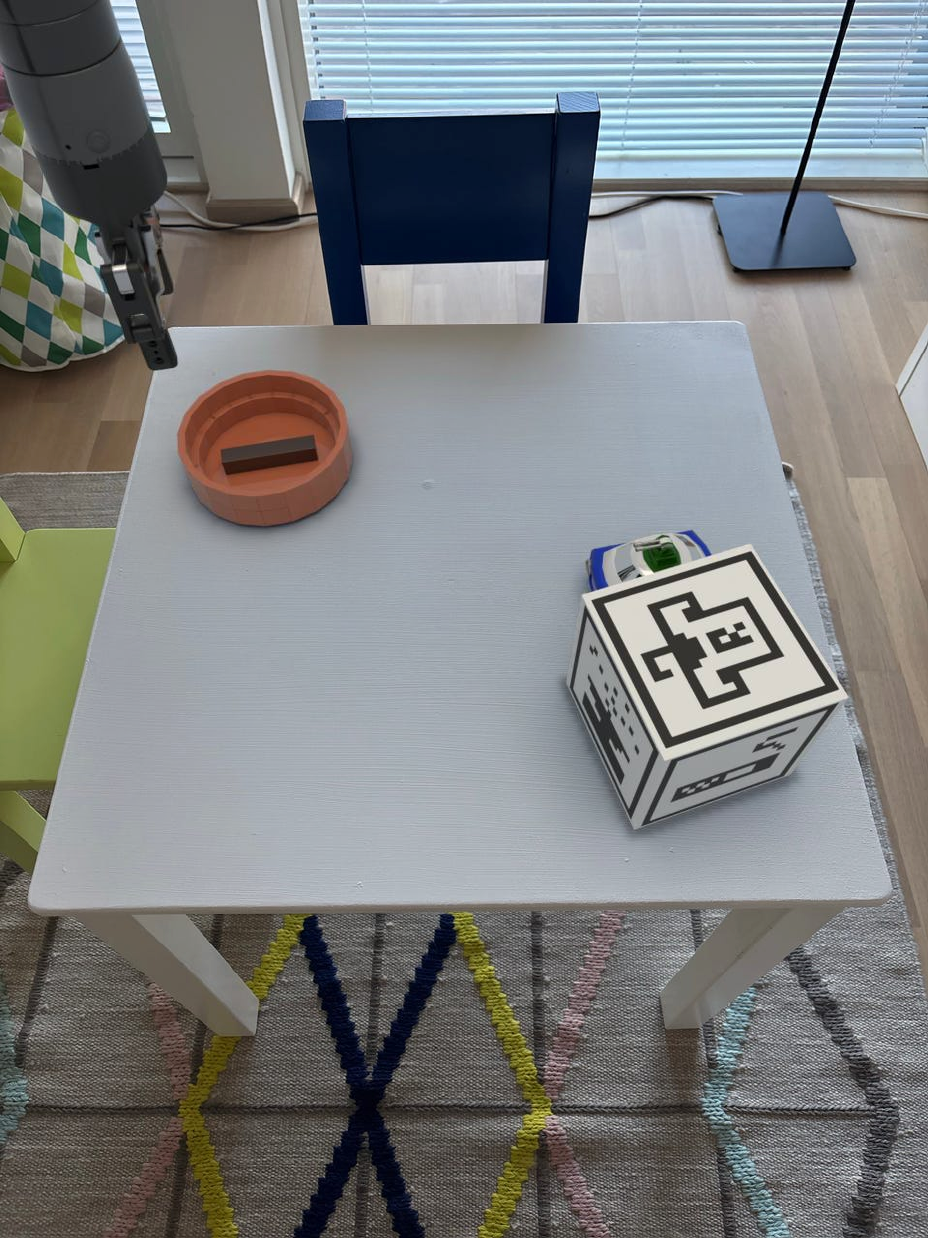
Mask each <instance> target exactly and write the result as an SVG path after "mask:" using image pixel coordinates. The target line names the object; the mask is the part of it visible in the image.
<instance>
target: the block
mask: <svg viewBox="0 0 928 1238" xmlns="http://www.w3.org/2000/svg"><path fill="white" fill-rule="evenodd" d="M568 664H569V665H568V671H567V675H566V676H567V677H566V682H565V683H566V686H567V688H568V690H569V693H570V695H571V697H572V699H573V701H574V703H575V705H576V708H577V710H578V712H579V714H580V716H581V718H582V721H583V723H584V725H585V727H586V729H587V732H588V733H589V736H590V738H591V740H592V742H593V744H594V746H595V749H596V751H597V753H598V755H599V757H600V760H601V762H602V765H603V766H604V768H605V771H606V772H607V773H606V774H607V775H608V777H609V779H610V781H611V783H612V786H613V788H614V790H615V791H616V794H617V796H618V799H619V801H620V803H621V805H622V807H623V809H624V812H625V814H626V816H627V818H628V820H629V822H630V825H631V827H632V829H633V831H635V830H639V829H641V828H645V827H647V826H650V825H652V824H656V823H658V822H661V821H664V820H667V819H669V818H672V817H675V816H678V815H681V814H683V813H686V812H690V811H692V810H695V809H698V808H702V807H704V806H707V805H709V804H711V803H715V802H717V801H721V800H723V799H726V798H729V797H732V796H734V795H735V796H736V795H737V794H740V793H742V792H743V793H744V792H745V791H748V790H752V789H754V788H757V787H760V786H763V785H766V784H769V783H771V782H775V781H777V780H779V779H783V778H785V777H788V776H791V774H793V772H794V771H795V769H796V768H797V766H798V765H799V764H800V763H801V761H802V760H803V759H804V757H805V756H806V755H807V753H808V752H809V751H810V749H812V747H813V746H814V744H815V743H816V742H817V740H818V739H819V738H820V736H821V735H822V734H823V732H825V730H826V729H827V727H828V726H829V725H830V723H831V722H832V720H833V719H835V717H836V715H837V714H838V713H839V712H840V711H841V709H842V707H843V706H844V705H845V704H846V702H847V701H848V700H849V699H850V697H849V695H848V694H847V692H846V691H845V688H844V687H843V686H842V684H841V683H840V681H839V680H838V679H837V678H838V677H836V675H835V673H834V672H833V670H832V669H831V667H830V665H829V664H828V662H827V661H826V659H825V658H824V656H823V655H822V653H821V652H820V649H818V647H817V645H816V644H815V642H814V640H813V639H812V637H811V636H810V634H809V633H808V631H807V630H806V628H805V627H804V625H803V623H802V622H801V620H800V618H799V617H798V616H797V614H796V612H795V611H794V610H793V608H792V606H791V604H790V603H789V602H788V600H787V598H786V597H785V595H784V594H783V592H782V591H781V589H780V587H779V586H778V584H777V583H776V581H775V580H774V578H773V577H772V575H771V574H770V572H769V570H768V568H767V567H766V565H765V564H764V562H763V561H762V559H761V558H760V557H759V555H758V553H757V552H756V550H755V549H754V547H753V545H752V544H751V543H747V544H744V545H741V546H738V547H734V548H731V549H728V550H724V551H721V552H718V553H715V554H712V555H711V556H708V557H705V558H701V559H698V560H695V561H691V562H688V563H685V564H682V565H678V566H675V567H672V568H669V569H665V570H662V571H659V572H655V573H652V574H649V575H646V576H642V577H639V578H636V579H633V580H629V581H626V582H623V583H619V584H616V585H613V586H610V587H606V588H603V589H600V590H597V591H593V592H591V591H589V592H587V593H584V594H581V597H580V603H579V608H578V615H577V618H576V626H575V631H574V637H573V643H572V648H571V654H570V660H569V663H568Z"/></svg>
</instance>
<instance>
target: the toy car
mask: <svg viewBox="0 0 928 1238" xmlns="http://www.w3.org/2000/svg"><path fill="white" fill-rule="evenodd" d="M711 555H713V554H712V553H711V550H710V549H709V547H708V546H707V544H706V543H705V542H704V541H703V540H702V539H701V538H700V537H699V536H698V534H697V533H696V532H695V531H694V530H693V529H689V530H684V531H679V532H675V533H674V532H662V533H654V534H649V535H645V536H642V537H639V538H635V539H632V540H630V541H627V542H622V543H617V544H611V545H606V546H601V547H597V548H593V549H591V550H590V555H589V559H585V564H584V565H585V570H586V574H587V575H588V585H589V589H590V592H593V591H597V590H600V589H603V588H606V587H610V586H613V585H616V584H619V583H623V582H626V581H629V580H633V579H636V578H639V577H642V576H646V575H649V574H652V573H655V572H659V571H662V570H665V569H669V568H672V567H675V566H678V565H682V564H685V563H688V562H691V561H695V560H698V559H701V558H705V557H708V556H711Z"/></svg>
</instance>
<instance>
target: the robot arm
mask: <svg viewBox="0 0 928 1238" xmlns="http://www.w3.org/2000/svg"><path fill="white" fill-rule="evenodd" d="M0 65H1V68H2V71H3V74H4V78H5V82H6V85H7V89H8V92H9V96H10V99H11V101H12V104H13V107H14V110H15V112H16V114H17V116H18V118H19V120H20V121H19V122H20V123H21V126H22V127H23V130H24V132H25V135H26V137H27V139H28V142H29V144H30V147H31V149H32V152H33V154H34V156H35V159H36V161H37V163H38V165H39V168H40V170H41V172H42V175H43V178H44V179H45V182H46V185H47V187H48V189H49V191H50V194H51V196H52V199H53V201H54V203H55V204H56V205H57V207H58V208H59V209H60V210H61V211H63V212H64V213H66V214H67V215H69V216H70V217H73V218H75V219H77V220H81V221H84V222H87V223H89V224H92V225H94V226H96V227H97V228H98V229H97V230H93V232H92V235H93V239H94V243H95V247H96V251H97V254H98V255H99V256H100V257H101V258H102V260H103V264H99V271H98V272H99V277H100V278H101V280H102V282H103V285H104V286H105V289H106V292H107V294H108V297H109V299H110V302H111V305H112V308H113V310H114V312H115V315H116V318H117V320H118V323H119V325H120V328H121V330H122V334H123V337H124V340H125V341H126V343H127V345H135V344H138V346H139V348H140V351H141V354H142V355H143V356H142V357H143V358H144V361H145V363H146V366H147V368H148V369H149V370H151V371H154V372H155V371H157V372H158V371H164V370H171V369H175V368H177V367H178V365H179V360H178V359H179V358H178V354H177V350H176V348H175V345H174V342H173V339H172V338H171V335H170V332H169V329H168V326H167V324H168V320H167V317H166V316H165V314H164V311H163V305H162V302H161V296H168V295H172V294H173V293H174V291H175V290H174V289H175V288H174V281H173V278H172V276H171V273H170V269H169V266H168V263H167V261H166V257H165V253H164V251H163V243H164V239H163V233H162V229H161V223H160V221H161V218H160V214H159V213H158V212H157V209H156V206H155V204H156V203H157V202H158V201H160V199H161V198H162V196H163V195H164V193H165V192H166V189H167V185H168V172H167V169H166V165H165V162H164V159H163V156H162V153H161V149H160V146H159V142H158V139H157V135H156V132H155V128H154V125H153V123H152V119H151V116H150V113H149V109H148V106H147V103H146V100H145V97H144V93H143V91H142V90H143V89H142V86H141V83H140V80H139V77H138V74H137V71H136V68H135V66H134V64H133V61H132V59H131V57H130V54H129V52H128V51H127V48H126V46H125V44H124V40H123V38H122V35H121V32H120V28H119V25H118V22H117V19H116V16H115V12H114V9H113V6H112V3H111V0H0Z"/></svg>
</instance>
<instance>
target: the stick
mask: <svg viewBox="0 0 928 1238" xmlns="http://www.w3.org/2000/svg"><path fill="white" fill-rule="evenodd" d="M221 459H222V465H223V468H224V470H225V473H226V475H230V474H236V473H242V472H248V471H254V470H261V469H267V468H273V467H279V466H285V465H292V464H298V463H304V462H310V461H317V460H318V455H317V449H316V444H315V439H314V435H308V436H302V437H295V438H289V439H283V440H276V441H270V442H264V443H258V444H251V445H245V446H239V447H232V448H226V449H221Z"/></svg>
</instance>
